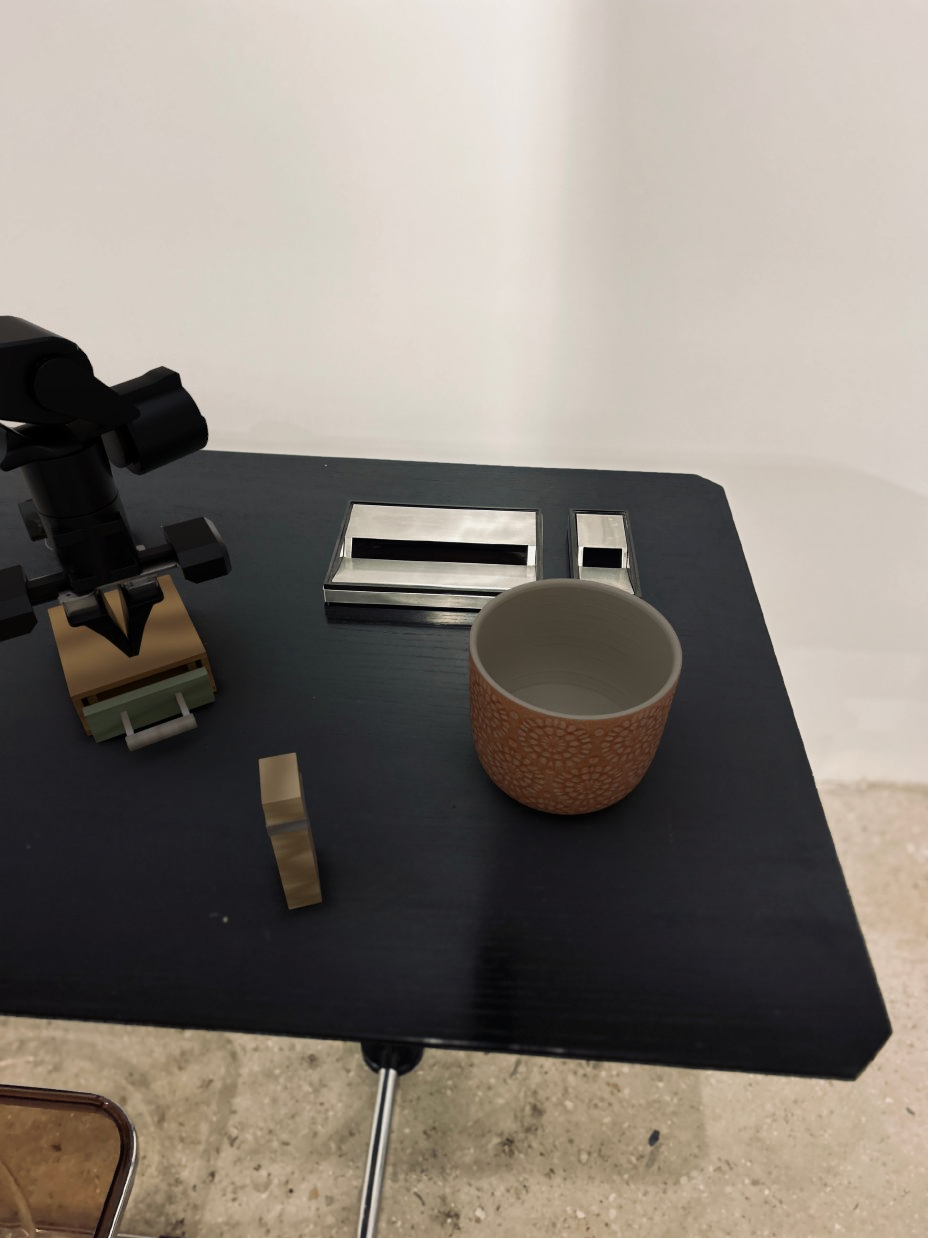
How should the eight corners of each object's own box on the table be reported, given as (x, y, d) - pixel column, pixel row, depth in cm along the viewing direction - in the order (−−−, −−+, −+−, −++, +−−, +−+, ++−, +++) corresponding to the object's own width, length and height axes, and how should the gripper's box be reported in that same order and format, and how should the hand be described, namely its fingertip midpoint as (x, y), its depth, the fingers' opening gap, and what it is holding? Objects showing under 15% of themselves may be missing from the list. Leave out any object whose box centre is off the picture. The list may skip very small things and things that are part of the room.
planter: (679, 829, 67) (717, 706, 57) (483, 855, 65) (489, 731, 55) (618, 689, 80) (641, 569, 70) (454, 707, 78) (454, 586, 68)
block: (287, 911, 61) (260, 805, 52) (283, 865, 64) (257, 758, 55) (323, 903, 61) (302, 797, 53) (318, 857, 64) (296, 750, 56)
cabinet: (216, 690, 79) (206, 651, 76) (88, 736, 74) (70, 696, 71) (180, 612, 89) (169, 573, 85) (64, 647, 84) (47, 609, 80)
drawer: (229, 732, 74) (222, 705, 71) (106, 778, 69) (93, 751, 67) (180, 623, 86) (172, 597, 83) (72, 657, 81) (61, 631, 79)
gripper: (177, 426, 66) (213, 573, 76) (-71, 480, 59) (5, 634, 69) (214, 485, 59) (249, 639, 69) (-64, 554, 52) (20, 715, 62)
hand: (133, 653), depth 68 cm, fingers closed
